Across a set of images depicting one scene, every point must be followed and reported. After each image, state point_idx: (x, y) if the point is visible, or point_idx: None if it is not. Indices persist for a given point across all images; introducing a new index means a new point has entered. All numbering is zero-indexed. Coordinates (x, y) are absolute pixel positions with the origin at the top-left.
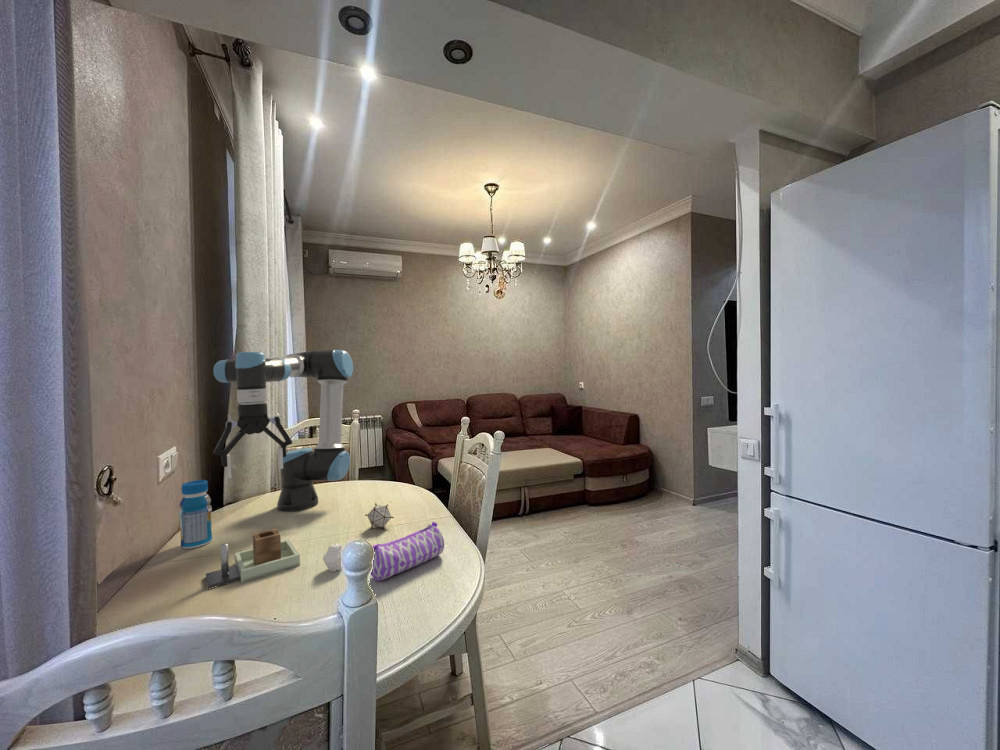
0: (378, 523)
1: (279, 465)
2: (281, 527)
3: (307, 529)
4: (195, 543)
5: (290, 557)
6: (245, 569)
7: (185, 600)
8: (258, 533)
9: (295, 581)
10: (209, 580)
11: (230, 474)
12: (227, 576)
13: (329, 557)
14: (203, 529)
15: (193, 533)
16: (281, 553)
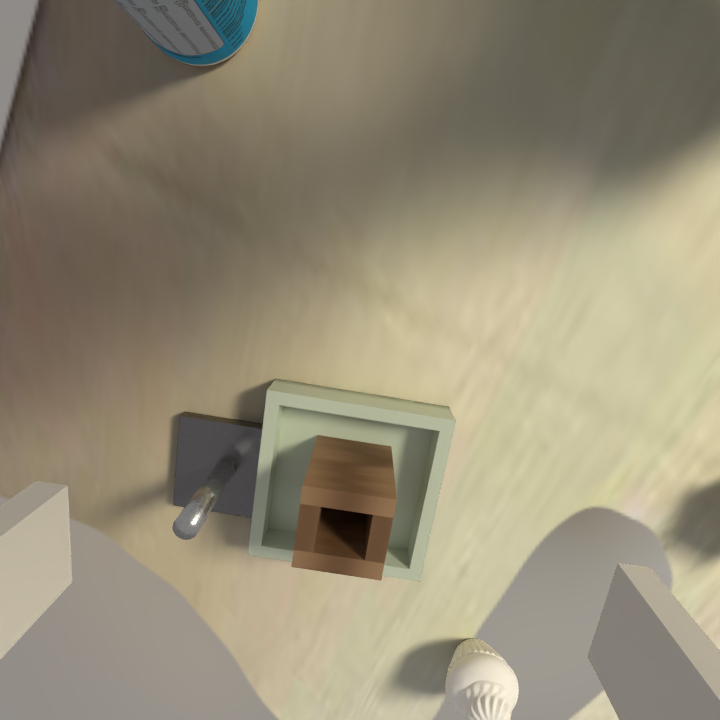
0: None
1: (621, 639)
2: (539, 119)
3: (597, 260)
4: (179, 56)
5: (390, 576)
6: (260, 552)
7: (125, 514)
8: (322, 497)
9: (364, 634)
10: (181, 475)
11: (32, 615)
12: (227, 491)
13: (456, 710)
14: (190, 25)
15: (148, 28)
16: (407, 445)
